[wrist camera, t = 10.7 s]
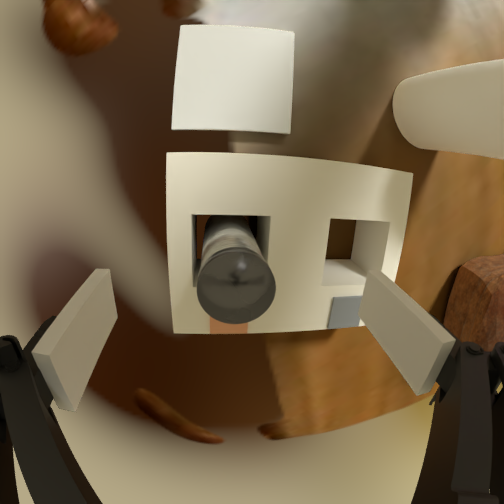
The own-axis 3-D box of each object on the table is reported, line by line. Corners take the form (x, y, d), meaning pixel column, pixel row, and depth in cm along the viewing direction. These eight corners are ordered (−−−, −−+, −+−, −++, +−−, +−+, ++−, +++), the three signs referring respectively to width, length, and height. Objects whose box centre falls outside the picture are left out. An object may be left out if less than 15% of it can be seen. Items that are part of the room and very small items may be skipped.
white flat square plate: (181, 29, 20) (180, 25, 19) (291, 35, 21) (294, 32, 20) (173, 130, 23) (171, 129, 22) (287, 134, 24) (290, 133, 23)
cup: (393, 144, 26) (523, 159, 11) (389, 70, 23) (510, 38, 8) (446, 153, 26) (560, 175, 11) (444, 86, 24) (554, 79, 9)
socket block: (177, 152, 24) (166, 152, 18) (377, 167, 26) (415, 173, 20) (180, 298, 28) (173, 335, 22) (357, 295, 31) (384, 324, 25)
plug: (204, 207, 26) (195, 253, 14) (250, 208, 26) (279, 253, 15) (203, 252, 27) (197, 324, 16) (248, 252, 27) (272, 323, 16)
